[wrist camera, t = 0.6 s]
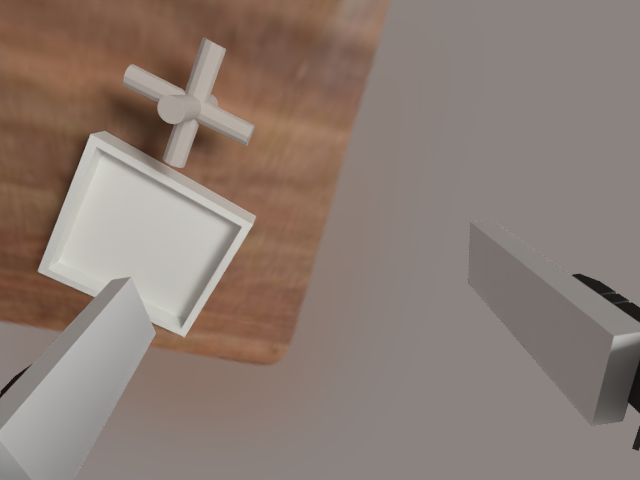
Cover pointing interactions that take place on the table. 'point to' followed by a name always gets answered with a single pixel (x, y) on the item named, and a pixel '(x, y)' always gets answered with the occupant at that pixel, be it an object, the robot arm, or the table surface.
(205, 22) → the table surface
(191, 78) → the pipe connector
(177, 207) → the tray
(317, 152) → the table surface
